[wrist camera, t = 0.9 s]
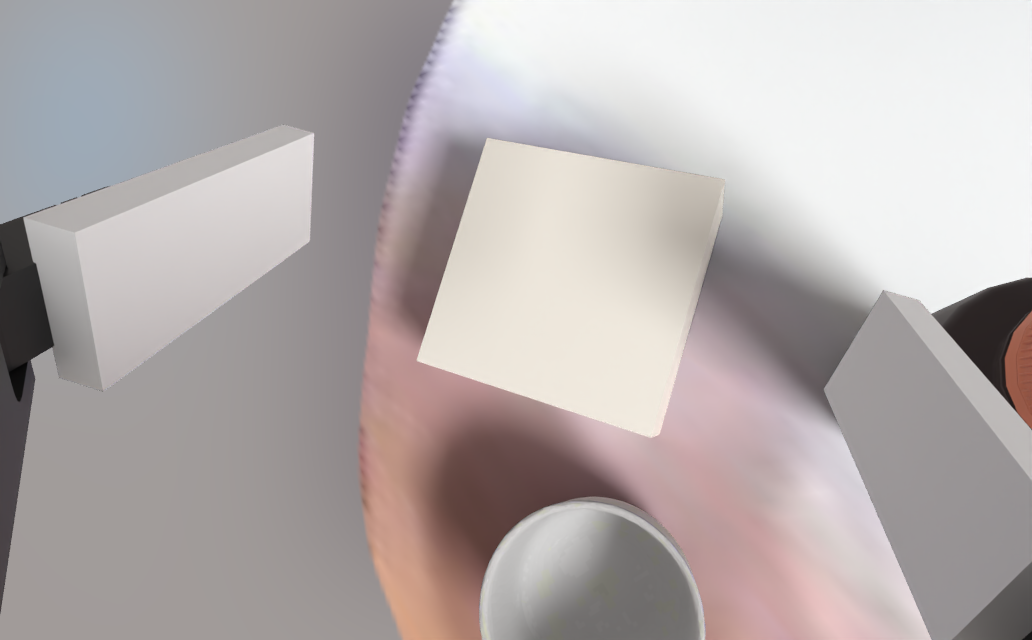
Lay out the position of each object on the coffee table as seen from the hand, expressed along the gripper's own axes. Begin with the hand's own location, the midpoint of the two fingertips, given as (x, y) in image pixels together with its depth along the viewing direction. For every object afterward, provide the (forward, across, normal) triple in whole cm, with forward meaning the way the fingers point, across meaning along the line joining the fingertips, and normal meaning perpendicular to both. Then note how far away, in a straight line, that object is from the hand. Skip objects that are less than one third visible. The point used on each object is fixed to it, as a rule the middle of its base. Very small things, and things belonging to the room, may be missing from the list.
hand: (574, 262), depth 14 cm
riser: (+22, +1, -12) cm, 25 cm away
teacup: (+11, +8, -25) cm, 29 cm away
